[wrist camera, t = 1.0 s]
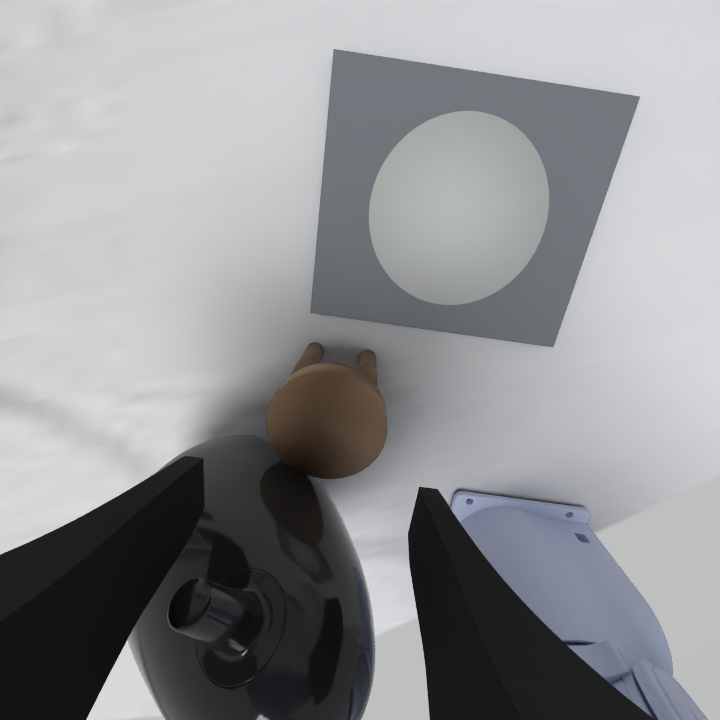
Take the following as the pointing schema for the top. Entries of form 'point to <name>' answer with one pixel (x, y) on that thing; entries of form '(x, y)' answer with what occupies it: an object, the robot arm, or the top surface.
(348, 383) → the stool
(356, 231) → the mat
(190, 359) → the top surface
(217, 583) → the black ball
